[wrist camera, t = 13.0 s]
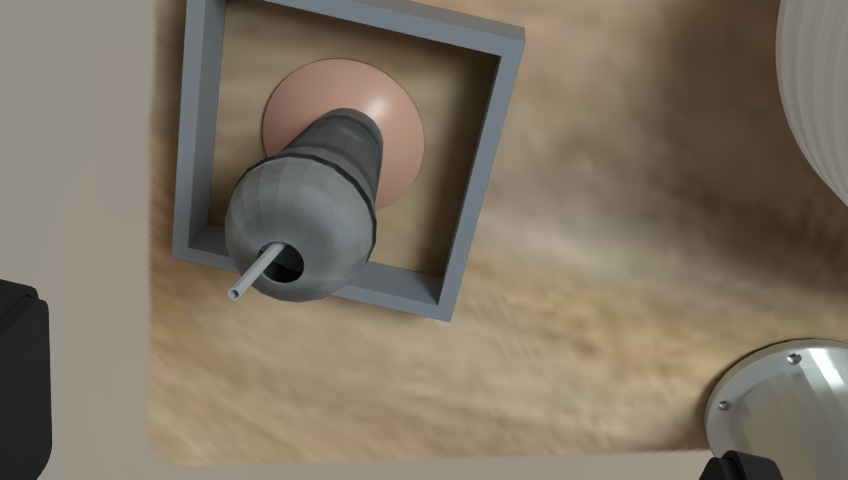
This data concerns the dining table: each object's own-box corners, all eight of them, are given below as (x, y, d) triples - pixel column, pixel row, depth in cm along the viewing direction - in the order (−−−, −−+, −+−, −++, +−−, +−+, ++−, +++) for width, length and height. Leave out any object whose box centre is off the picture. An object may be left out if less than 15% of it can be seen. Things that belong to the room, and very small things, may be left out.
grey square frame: (524, 27, 43) (525, 41, 40) (453, 294, 52) (450, 322, 49) (212, -46, 43) (189, -37, 40) (191, 232, 52) (171, 257, 49)
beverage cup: (320, 212, 50) (214, 415, 32) (268, 110, 47) (120, 269, 29) (424, 175, 48) (373, 368, 30) (376, 66, 45) (288, 208, 27)
